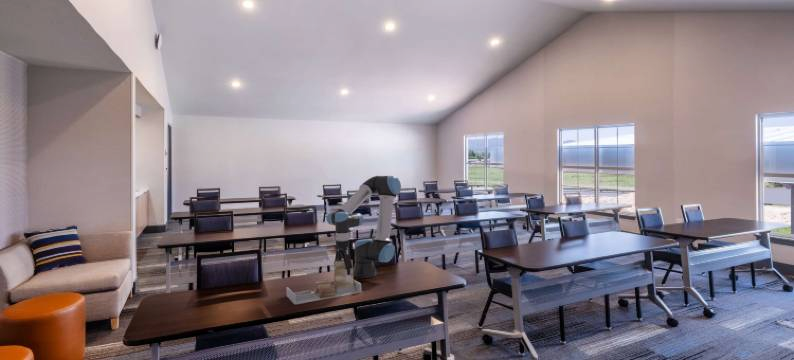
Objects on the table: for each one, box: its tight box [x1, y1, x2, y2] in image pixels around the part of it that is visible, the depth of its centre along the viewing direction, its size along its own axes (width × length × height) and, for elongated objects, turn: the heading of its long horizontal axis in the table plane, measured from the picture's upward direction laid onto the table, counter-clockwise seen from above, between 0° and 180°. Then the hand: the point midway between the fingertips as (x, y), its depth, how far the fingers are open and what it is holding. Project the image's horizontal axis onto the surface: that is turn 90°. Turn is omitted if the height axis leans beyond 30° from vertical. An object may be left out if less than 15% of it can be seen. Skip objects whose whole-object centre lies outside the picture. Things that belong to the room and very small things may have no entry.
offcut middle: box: [314, 285, 336, 295], centre depth 235 cm, size 11×7×2 cm
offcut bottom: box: [313, 288, 335, 298], centre depth 235 cm, size 12×8×2 cm, turn 28°
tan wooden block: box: [333, 259, 354, 289], centre depth 240 cm, size 4×10×17 cm, turn 119°
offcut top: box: [315, 280, 332, 290], centre depth 235 cm, size 9×6×2 cm
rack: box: [286, 278, 362, 305], centre depth 235 cm, size 16×37×6 cm, turn 118°
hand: (343, 277), depth 240 cm, fingers open, 13 cm apart
